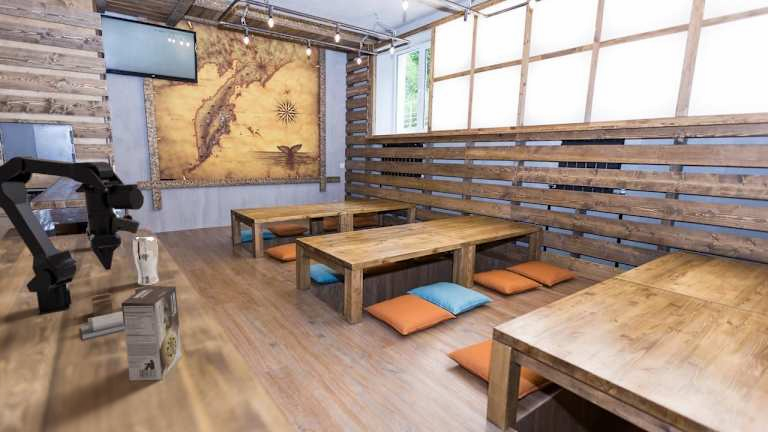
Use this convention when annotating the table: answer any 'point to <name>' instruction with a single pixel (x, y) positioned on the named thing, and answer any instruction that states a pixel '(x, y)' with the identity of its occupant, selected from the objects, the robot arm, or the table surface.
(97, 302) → the post left
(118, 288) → the table surface
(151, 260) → the beer glass
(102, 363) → the table surface
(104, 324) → the rail
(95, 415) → the table surface
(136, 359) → the coffee box
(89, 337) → the mat
